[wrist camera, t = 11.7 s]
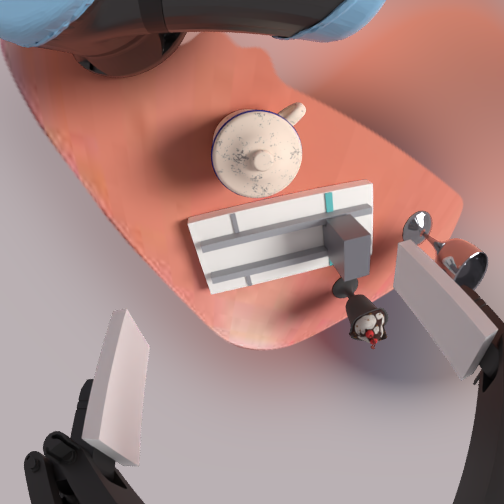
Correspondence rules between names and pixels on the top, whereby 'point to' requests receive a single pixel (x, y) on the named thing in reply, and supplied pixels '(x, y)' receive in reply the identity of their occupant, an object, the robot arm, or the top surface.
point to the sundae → (362, 313)
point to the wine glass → (449, 252)
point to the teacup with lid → (257, 150)
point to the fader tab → (347, 246)
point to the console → (275, 234)
